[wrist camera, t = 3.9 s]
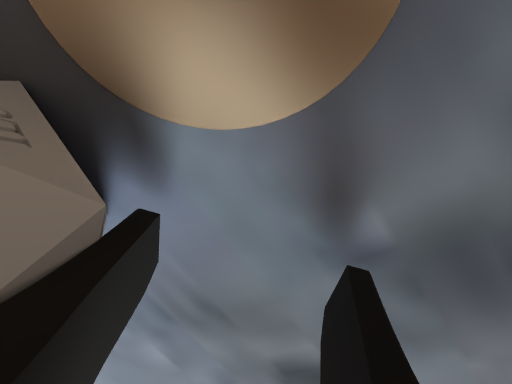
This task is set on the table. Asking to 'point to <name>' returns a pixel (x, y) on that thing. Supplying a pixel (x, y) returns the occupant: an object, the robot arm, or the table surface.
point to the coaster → (218, 52)
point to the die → (39, 196)
